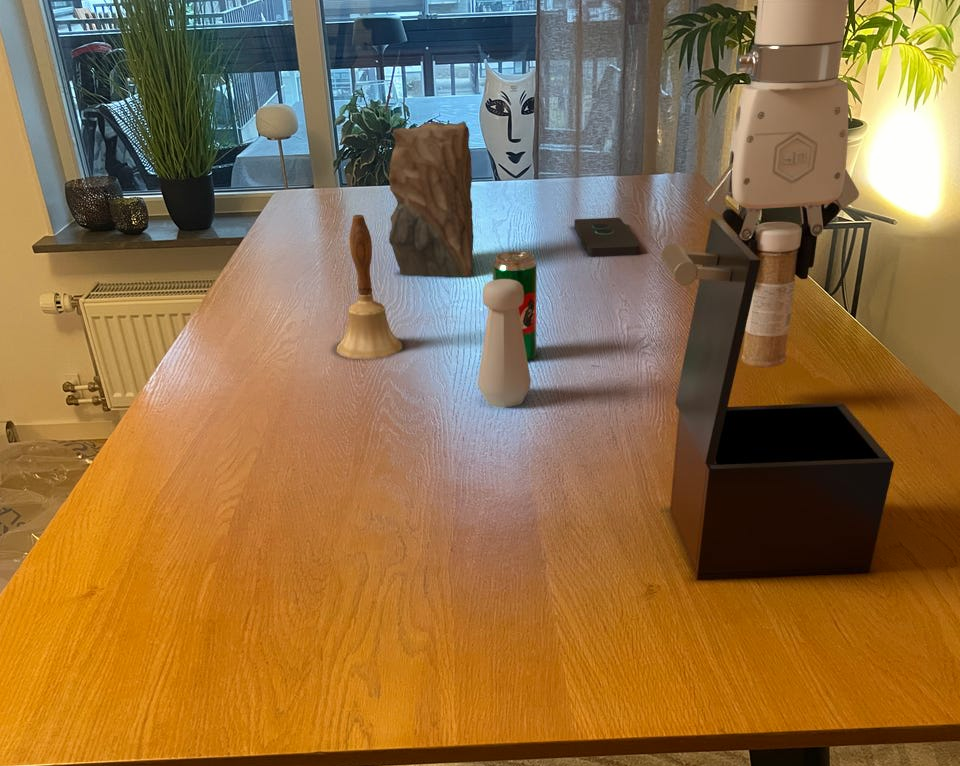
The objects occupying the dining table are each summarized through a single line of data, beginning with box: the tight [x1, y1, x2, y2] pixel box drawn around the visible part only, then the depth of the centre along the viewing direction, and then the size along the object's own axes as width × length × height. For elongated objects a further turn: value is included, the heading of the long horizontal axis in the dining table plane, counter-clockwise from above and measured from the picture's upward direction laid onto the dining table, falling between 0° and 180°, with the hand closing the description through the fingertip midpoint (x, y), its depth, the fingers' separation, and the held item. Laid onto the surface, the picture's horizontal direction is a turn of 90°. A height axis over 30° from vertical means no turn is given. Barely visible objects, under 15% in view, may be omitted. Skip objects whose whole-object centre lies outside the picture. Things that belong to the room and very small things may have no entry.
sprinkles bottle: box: [741, 221, 802, 369], centre depth 100 cm, size 5×5×14 cm
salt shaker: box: [477, 279, 532, 409], centre depth 107 cm, size 6×6×13 cm
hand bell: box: [336, 214, 403, 360], centre depth 121 cm, size 8×8×16 cm
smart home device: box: [573, 217, 640, 258], centre depth 166 cm, size 8×2×20 cm
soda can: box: [492, 250, 538, 361], centre depth 118 cm, size 5×5×12 cm
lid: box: [660, 218, 761, 464], centre depth 73 cm, size 14×12×5 cm
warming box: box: [669, 402, 895, 581], centre depth 81 cm, size 14×12×10 cm
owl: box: [388, 120, 474, 278], centre depth 150 cm, size 13×13×20 cm
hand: (772, 275), depth 99 cm, fingers closed on sprinkles bottle, 4 cm apart
